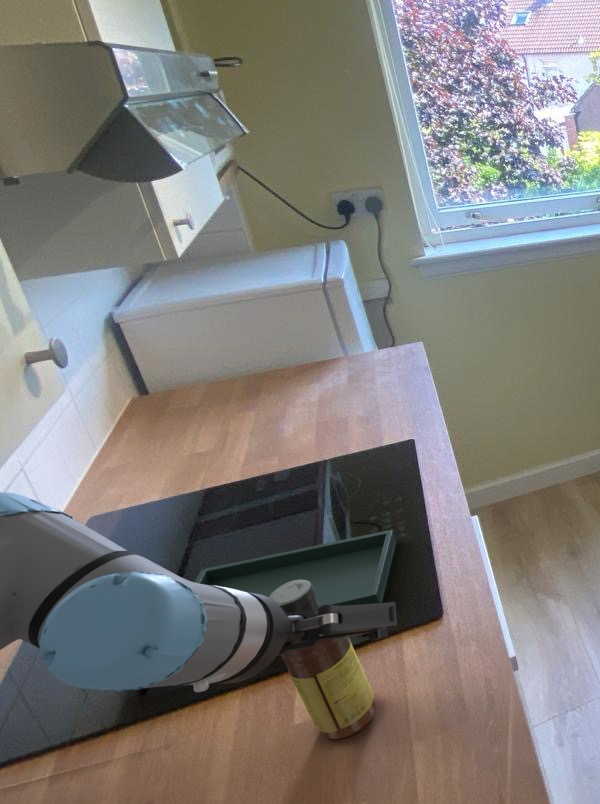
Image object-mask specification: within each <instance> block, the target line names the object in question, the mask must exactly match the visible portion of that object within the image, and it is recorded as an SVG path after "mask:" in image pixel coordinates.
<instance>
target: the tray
mask: <svg viewBox="0 0 600 804" xmlns="http://www.w3.org/2000/svg"><path fill="white" fill-rule="evenodd" d="M396 547H397V540H396V537H395V534H394V530H393V529H388V530H384V531H379V532H374V533H370V534H364V535H360V536H355V537H351V538H346V539H341V540H336V541H331V542H327V543H322V544H317V545H312V546H308V547H301V548H298V549H293V550H288V551H283V552H278V553H274V554H269V555H264V556H259V557H255V558H254V557H253V558H250V559H245V560H240V561H235V562H231V563H225V564H221V565H215V566H212V567H207V568H202V569H201V570H200V572H199V573H198V575H197V577H196V579H195V580H194V581H193V582H194V583H199V584H204V585H215V586H220V587H225V588H231V589H235V590H239V591H244V592H249V593H255V594H260V595H264V596H266V597H268V598H269V596H270V595H271V594H272V593H273V592H274V591H275V590H276V589H278V588H279V587H280V586H282V585H284V584H286V583H288V582H291V581H294V580H307V581H309V582H310V583H311V584H312V586H313V588H314V589H315V597H316V599H317V601H318V604H319V606H320V607H321V606H322V605H327V604H328V605H337V606H345V605H360V604H375V603H383V601H384V596H385V592H386V589H387V584H388V580H389V576H390V571H391V568H392V564H393V559H394V555H395V550H396Z"/></svg>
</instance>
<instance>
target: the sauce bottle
mask: <svg viewBox="0 0 600 804" xmlns="http://www.w3.org/2000/svg"><path fill="white" fill-rule="evenodd" d="M269 598H270V599H272V600H273V601H275V602H276V603H277V604H278V605H279V606H280V607H281V609H282V610H283V611H285V612H287V613H290V612H299V611H307V610H312V611H313V612H314V613H315V614H318V608H319V607H320V606H319V604H318V601H317V599H316V597H315V589H314V588H313V586H312V584H311V583H310V582H309V581H307V580H294V581H291V582H288V583H286V584H284V585H282V586H280V587H279V588H278V589H276V590H275V591H274V592H273V593H272V594H271V595H270V596H269ZM295 643H300V639H299V640H297V641H295V642H293V643H291V644H295ZM280 656H281V658H282V660H283V662H284V664H285V666H286V668H287V672H288V675H289V676H290V678H291V681H292V682H293V684H294V687H295V689H296V690H297V692H298V695H299V697H300V699H301V701H302V703H303V704H304V706H305V709H306V710H307V713H308V715H309V717H310V718H311V720H312V722H313V725H314V727H315V728H316V729H317V730H318V731H319V733H320V734H321V736H323V738H325V739H328V740H329V739H330V740H337V739H345V738H348V737H350V736H352V735H354V734H356V733H357V732H359V731H361V730H362V729H364V728H365V726H367V725H368V724H369V722H371V720H372V719H373V718H374V715H375V713H376V710H377V701H376V699H375V697H374V696H375V695H374V694H375V693H374V691H373V688H372V687H371V684H370V682H369V680H368V678H367V675H366V673H365V670H364V668H363V666H362V663H361V662H360V659H359V657H358V655H357V653H356V651H355V649H354V646H353V644H352V642H351V639H350V638H349V637H344V638H337V639H331V640H324V641H318V642H316V643H315V644H314V645H313V646H311V647H308V648H305V649H301V650H295V651H289V652H285V653H283V654H281V655H280Z"/></svg>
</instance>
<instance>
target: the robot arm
mask: <svg viewBox="0 0 600 804" xmlns="http://www.w3.org/2000/svg"><path fill="white" fill-rule="evenodd" d="M194 582H195V581H190V580H189V579H186V578H183V577H181V576H179V575H177V574H175V573H174V572H172V571H170V570H169V569H167V568H166V567H165V568H164V567H162V566H161V565H159V564H157V563H155V562H153V561H151V560H150V559H148V558H146V557H144V556H141V555H139V554H136V553H134V552H133V551H130V550H127V549H125V548H124V547H122V546H120V545H119V544H117V543H115V542H114V541H112V540H110V539H108V538H107V537H106V536H103V535H102V534H101V533H99V532H97V531H95V530H94V529H91V528H90V527H88V526H87V525H85V524H84V523H82V522H80V521H78V520H77V519H76V518H73V516H72V515H70V514H68V513H66V512H64V511H61V510H60V509H57V508H54V507H52V506H50V505H48V504H46V503H43V502H40V501H39V500H34V499H32V498H30V497H27V496H24V495H22V494H18V493H14V492H3V491H2V492H0V651H1V650H3V649H4V648H6V647H8V646H9V645H10V644H13V643H15V642H16V641H18V640H21V641H23V642H25V643H28V644H30V645H32V646H34V647H36V648H38V649H39V653H40V655H41V657H42V660H43V663H44V666H45V668H46V669H47V671H48V673H49V674H50V675H51V676H52V677H54V678H55V679H56V680H58V681H59V682H61V683H62V684H64V685H67V686H71V687H74V688H77V689H84V690H85V689H86V690H94V691H98V692H102V693H105V692H110V691H113V692H114V693H122V692H133V691H137V690H138V691H139V690H142V689H149V688H159V687H161V688H162V687H181V686H188V685H189V686H192V685H193V686H192V687H193V692H195V693H201V692H206V691H207V690H208V689H209V688H210V685H224V684H226V685H227V684H235V683H241V682H243V681H246V680H248V679H251V678H253V677H255V676H257V675H258V674H259V673H261V672H263V671H264V670H265V669H266V668H267V667H269V666H270V665H271V663H273V661H275V659H276V658H277V656H278V657H279V656H282V655H281V654H283V653H285V652H289V651H295V650H301V649H305V648H308V647H311V646H313V645H314V644H315V643H316V642H318V641H324V640H331V639H337V638H344V637H355V636H356V637H357V636H361V638H364V639H365V638H366V639H369V641H375V640H381V639H382V640H383V639H386V638H388V637H389V633H388V631H389V630H392V629H394V628H396V627H397V626H398V621H397V620H398V619H397V618H398V617H397V606H396V601H386V602H382V603H375V604H360V605H345V606H337V605H328V604H327V605H322V606H321V607H319V608H318V614H315V613H314V612H313V611H312V610H307V611H299V612H290V613H287V612H285V611H283V610H282V609H281V607H280V606H279V605H278V604H277V603H276V602H275V601H273V600H272V599H270V598H268V597H266V596H264V595H260V594H255V593H249V592H244V591H239V590H235V589H231V588H225V587H220V586H215V585H204V584H199V583H194ZM299 639H300V643H295V644H291V643H293V642H295V641H297V640H299Z"/></svg>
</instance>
